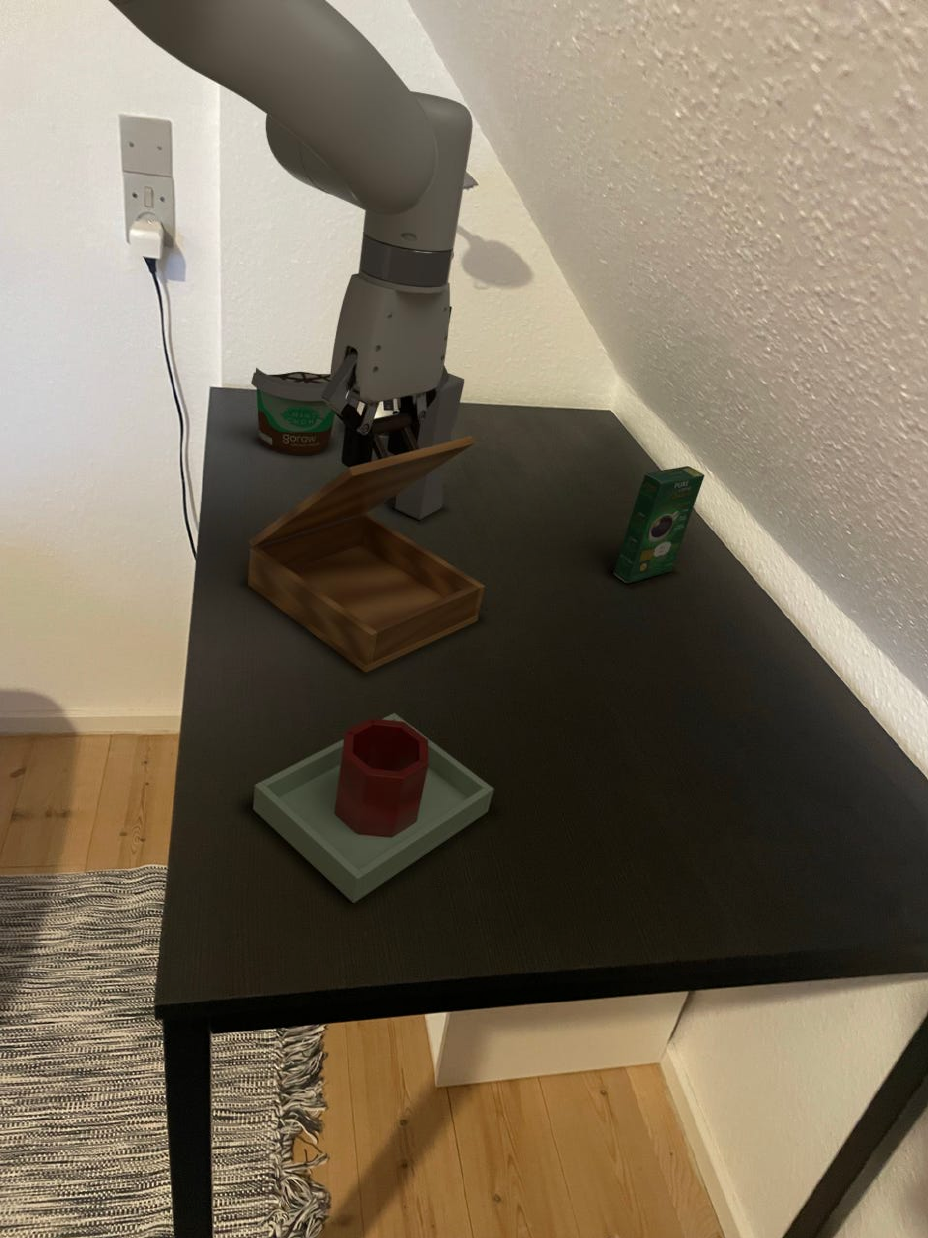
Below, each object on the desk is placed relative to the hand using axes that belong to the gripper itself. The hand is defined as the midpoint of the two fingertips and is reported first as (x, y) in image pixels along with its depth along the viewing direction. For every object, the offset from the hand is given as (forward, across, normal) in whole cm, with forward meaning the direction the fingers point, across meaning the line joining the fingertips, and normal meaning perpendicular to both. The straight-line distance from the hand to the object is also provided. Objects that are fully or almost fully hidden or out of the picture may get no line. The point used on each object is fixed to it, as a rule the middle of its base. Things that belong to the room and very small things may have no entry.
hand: (378, 460), depth 88 cm
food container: (+16, -18, -31) cm, 39 cm away
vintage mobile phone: (+16, -20, -11) cm, 28 cm away
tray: (+16, +19, +22) cm, 33 cm away
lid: (+4, 0, -2) cm, 5 cm away
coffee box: (+16, -33, +14) cm, 39 cm away
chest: (+16, 0, +1) cm, 16 cm away
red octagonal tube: (+15, +19, +22) cm, 33 cm away
